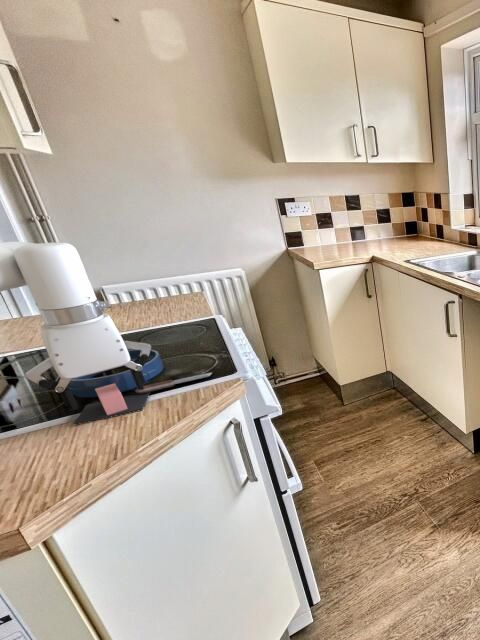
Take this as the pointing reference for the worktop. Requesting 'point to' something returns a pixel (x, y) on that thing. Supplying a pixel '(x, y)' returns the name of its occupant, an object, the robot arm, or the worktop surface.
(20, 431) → the worktop surface
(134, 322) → the worktop surface
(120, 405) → the eraser
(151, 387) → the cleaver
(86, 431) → the worktop surface
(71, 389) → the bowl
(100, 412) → the mat
